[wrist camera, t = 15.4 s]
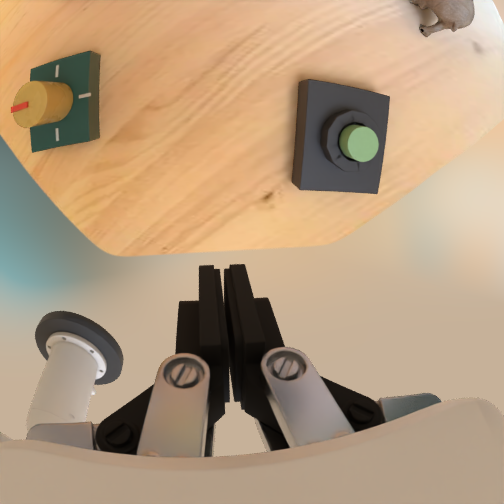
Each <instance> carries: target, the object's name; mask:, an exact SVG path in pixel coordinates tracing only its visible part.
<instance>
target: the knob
mask: <svg viewBox="0 0 504 504" xmlns="http://www.w3.org/2000/svg"><path fill="white" fill-rule="evenodd" d="M72 104H73V93H72V90H71V88H70V87H69V86H68V85H67V84H65V83H61V82H48V81H30V82H28V83H26V84H25V85H24V86H22V87H21V89H20V90H19V91H18V93H17V95H16V97H15V99H14V103H13V107H11V113H13V116H14V119H15V121H16V123H17V124H18V125H19V126H21V127H23V128H29V127H34V126H38V125H43V124H48V123H54V122H58V121H60V120H62V119H63V118H65V117H66V116H67V114H68V113H69V111H70V109H71V107H72Z"/></svg>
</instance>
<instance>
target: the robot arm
mask: <svg viewBox="0 0 504 504" xmlns="http://www.w3.org/2000/svg"><path fill="white" fill-rule="evenodd" d="M46 350H47V352H48V355H49V358H48V360H47V363H46V365H45V368H44V371H43V373H42V376H41V378H40V381H39V383H38V386H37V389H36V392H35V394H34V397H33V400H32V403H31V406H30V409H29V412H28V416H27V430H28V434H27V438H26V440H12V439H11V438H9V437H8V436H6V435H4V434H3V433H1V432H0V504H504V416H503V414H502V413H501V412H500V411H499V410H498V408H496V406H495V405H493V404H492V403H491V402H489V401H487V400H484V399H480V398H459V399H452V400H447V401H444V402H441V400H440V399H439V398H438V397H437V396H435V395H433V394H431V393H422V394H414V395H406V396H398V397H386V398H380V399H379V400H378V401H374V400H372V399H370V398H369V397H366V396H364V395H362V394H359V393H357V392H355V391H352V390H350V389H348V388H346V387H343V386H341V385H339V384H337V383H334V382H332V381H330V380H328V379H326V378H323V377H321V376H320V375H319V374H318V372H317V371H316V369H315V367H314V366H313V364H312V362H311V361H310V359H309V358H308V357H307V356H306V355H305V354H304V353H303V352H301V351H300V350H297V349H294V348H290V347H285V345H284V343H283V340H282V337H281V334H280V331H279V328H278V325H277V322H276V319H275V316H274V313H273V310H272V307H271V304H270V302H269V299H268V298H254V297H253V293H252V289H251V286H250V282H249V278H248V274H247V271H246V267H245V265H244V264H237V265H236V264H234V265H230V267H229V269H224V301H223V293H222V286H221V276H220V269H214V265H204V266H199V301H180V302H179V309H178V321H177V336H176V353H175V355H172V356H170V357H168V358H167V359H165V360H164V361H163V362H162V363H161V365H160V367H159V369H158V372H157V376H156V379H155V383H154V385H152V386H151V387H149V388H148V389H147V390H145V391H144V392H143V393H141V394H140V395H138V396H137V397H136V398H134V399H133V400H132V401H130V402H128V403H127V404H126V405H124V406H123V407H121V408H120V409H118V410H117V411H116V412H114V413H113V414H111V415H110V416H109V417H107V418H106V419H104V420H103V421H102V422H101V423H100V424H92V422H85V420H86V416H87V411H88V407H89V402H90V398H91V394H92V395H94V394H96V390H95V389H94V383H95V379H99V378H101V377H102V376H103V375H104V374H105V372H106V368H107V363H106V360H105V357H104V356H103V354H102V353H101V352H100V350H99V349H98V348H97V347H96V346H94V345H93V344H92V343H91V342H89V341H88V340H86V339H84V338H82V337H81V336H78V335H76V334H72V333H69V332H56V333H53V334H52V335H50V337H49V338H48V340H47V342H46ZM229 367H230V375H231V382H232V388H233V396H234V401H235V402H239V401H240V403H241V409H242V410H245V412H246V413H247V414H249V415H251V416H252V417H254V419H255V424H256V426H257V429H258V431H259V433H260V436H261V439H262V441H263V443H264V446H265V448H266V451H267V452H262V453H254V454H246V455H235V456H220V457H213V454H214V441H215V428H216V427H215V426H216V425H215V423H216V422H217V421H218V420H219V419H220V418H221V417H222V416H223V415H224V414H225V402H230V393H229V392H230V390H229Z"/></svg>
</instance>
